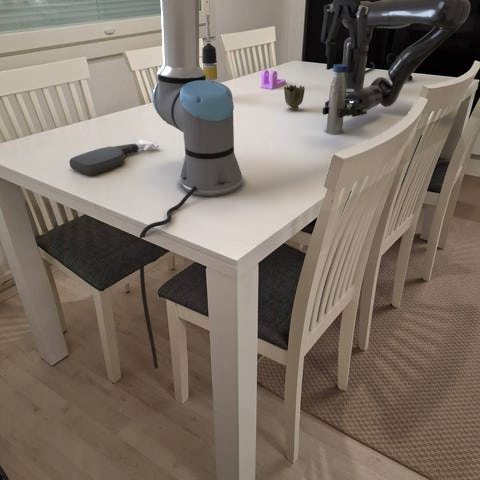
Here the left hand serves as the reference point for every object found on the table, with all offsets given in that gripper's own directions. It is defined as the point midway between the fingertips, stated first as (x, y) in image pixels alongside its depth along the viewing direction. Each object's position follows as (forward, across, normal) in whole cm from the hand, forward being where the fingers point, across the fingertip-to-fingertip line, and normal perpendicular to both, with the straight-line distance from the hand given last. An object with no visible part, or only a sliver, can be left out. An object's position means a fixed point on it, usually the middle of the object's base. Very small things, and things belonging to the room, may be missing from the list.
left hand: (340, 70), depth 132 cm
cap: (-1, 0, 0) cm, 1 cm away
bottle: (+19, 0, 0) cm, 19 cm away
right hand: (+12, 0, -3) cm, 12 cm away
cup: (+19, -25, +10) cm, 33 cm away
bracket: (+19, -56, +34) cm, 68 cm away
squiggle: (+19, -20, +78) cm, 83 cm away
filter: (+19, -60, 0) cm, 62 cm away
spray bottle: (+19, -30, -61) cm, 70 cm away
